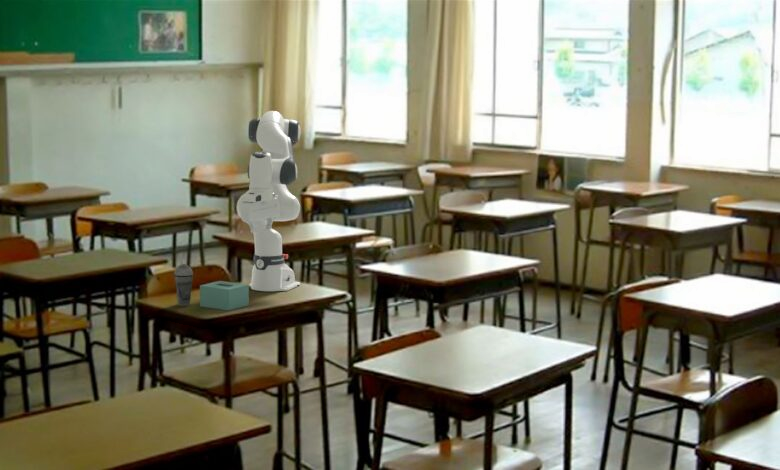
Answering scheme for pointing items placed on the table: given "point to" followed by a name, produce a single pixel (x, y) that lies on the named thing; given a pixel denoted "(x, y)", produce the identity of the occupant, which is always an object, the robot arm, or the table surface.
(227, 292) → the box
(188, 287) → the beverage cup
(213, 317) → the table surface
